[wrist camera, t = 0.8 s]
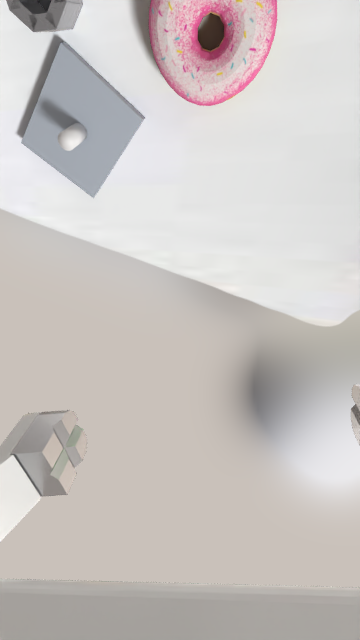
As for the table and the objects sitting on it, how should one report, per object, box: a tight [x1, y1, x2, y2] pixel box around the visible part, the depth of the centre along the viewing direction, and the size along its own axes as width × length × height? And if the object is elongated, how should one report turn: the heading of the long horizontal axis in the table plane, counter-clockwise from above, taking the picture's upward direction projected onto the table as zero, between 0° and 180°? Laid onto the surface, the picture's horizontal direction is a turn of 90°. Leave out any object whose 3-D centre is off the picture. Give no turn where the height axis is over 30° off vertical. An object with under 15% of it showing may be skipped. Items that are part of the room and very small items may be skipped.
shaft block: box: [21, 42, 145, 198], centre depth 41 cm, size 14×12×6 cm
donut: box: [149, 0, 277, 106], centre depth 34 cm, size 14×13×5 cm
